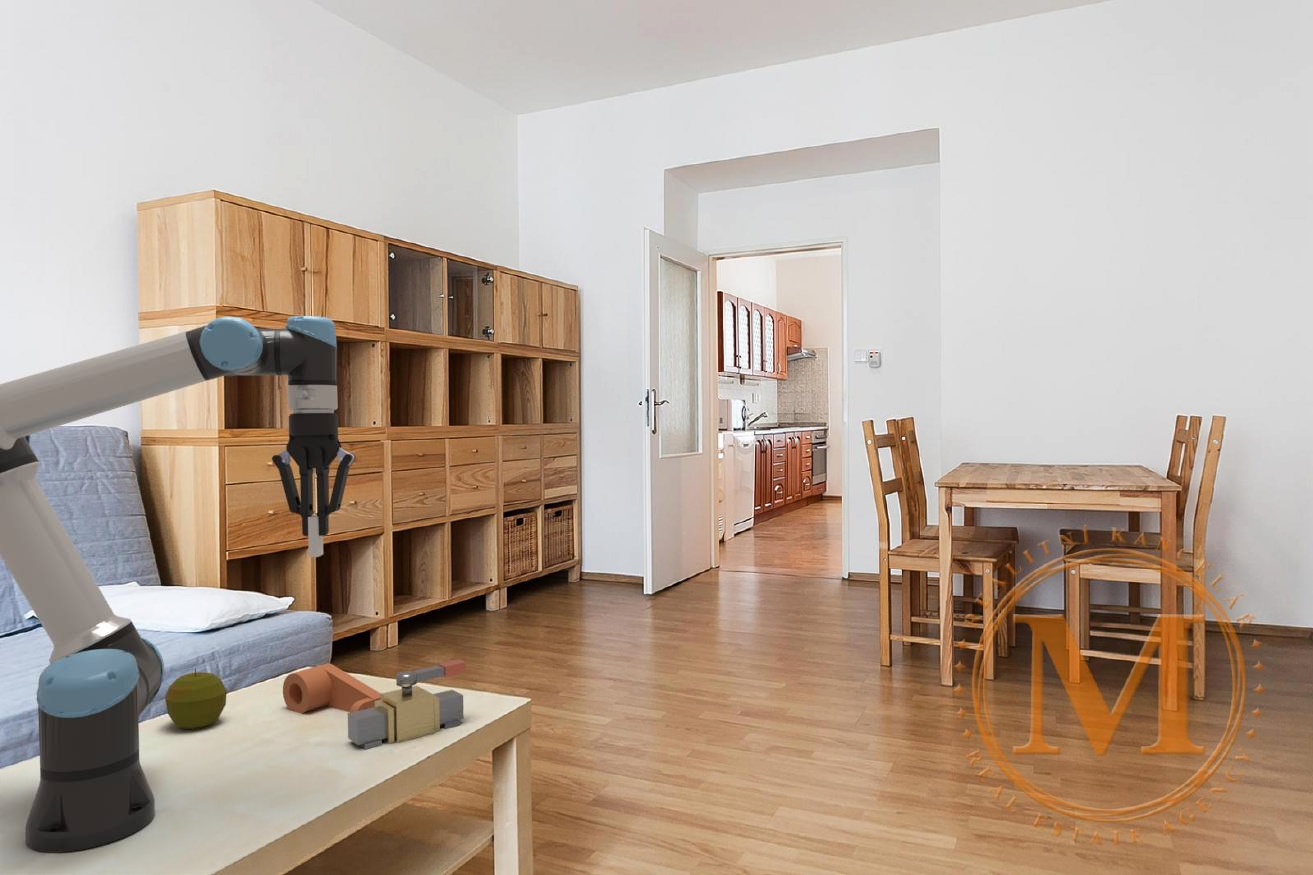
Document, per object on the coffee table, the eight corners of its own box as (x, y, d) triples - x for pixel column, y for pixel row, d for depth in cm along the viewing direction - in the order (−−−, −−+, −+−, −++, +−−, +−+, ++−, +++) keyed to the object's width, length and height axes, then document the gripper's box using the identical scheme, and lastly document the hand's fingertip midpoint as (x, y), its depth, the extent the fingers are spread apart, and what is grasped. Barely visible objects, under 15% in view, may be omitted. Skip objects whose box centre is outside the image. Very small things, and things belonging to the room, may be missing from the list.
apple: (238, 719, 166) (236, 662, 166) (200, 737, 157) (199, 676, 156) (193, 716, 168) (192, 659, 168) (153, 733, 159) (152, 673, 159)
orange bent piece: (283, 710, 171) (282, 670, 171) (317, 699, 178) (317, 660, 178) (351, 728, 161) (350, 686, 161) (385, 716, 168) (384, 675, 168)
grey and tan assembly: (360, 751, 149) (359, 702, 149) (345, 740, 154) (344, 692, 154) (466, 724, 162) (466, 679, 161) (449, 715, 167) (448, 671, 167)
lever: (402, 688, 155) (402, 677, 155) (392, 683, 158) (392, 673, 158) (467, 672, 164) (467, 662, 164) (457, 668, 167) (457, 658, 167)
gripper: (263, 412, 139) (266, 560, 139) (347, 411, 139) (350, 558, 140) (280, 412, 146) (283, 553, 147) (360, 411, 147) (362, 551, 147)
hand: (316, 555), depth 143 cm, fingers closed
